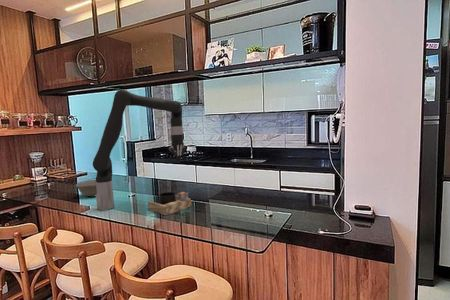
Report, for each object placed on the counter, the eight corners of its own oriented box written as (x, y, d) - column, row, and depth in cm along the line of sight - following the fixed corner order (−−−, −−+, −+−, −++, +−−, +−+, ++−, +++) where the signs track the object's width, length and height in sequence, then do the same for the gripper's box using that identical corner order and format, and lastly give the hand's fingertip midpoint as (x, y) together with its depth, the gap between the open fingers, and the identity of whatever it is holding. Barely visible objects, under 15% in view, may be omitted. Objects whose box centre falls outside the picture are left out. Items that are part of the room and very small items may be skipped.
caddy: (165, 215, 162) (164, 199, 161) (148, 209, 174) (147, 195, 173) (191, 206, 176) (190, 192, 175) (174, 202, 188) (173, 188, 187)
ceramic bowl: (69, 199, 208) (68, 185, 207) (91, 191, 230) (90, 179, 229) (96, 200, 202) (95, 186, 201) (116, 191, 225) (115, 179, 224)
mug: (181, 205, 179) (180, 191, 178) (170, 211, 168) (169, 196, 167) (168, 204, 183) (167, 190, 182) (157, 210, 172) (155, 195, 171)
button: (182, 199, 172) (182, 193, 171) (179, 199, 174) (179, 192, 173) (186, 198, 174) (185, 192, 173) (183, 198, 176) (182, 191, 175)
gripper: (181, 133, 186) (183, 159, 188) (164, 134, 176) (166, 162, 178) (189, 133, 181) (190, 160, 183) (171, 134, 171) (173, 163, 173)
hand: (178, 161), depth 180 cm, fingers closed
